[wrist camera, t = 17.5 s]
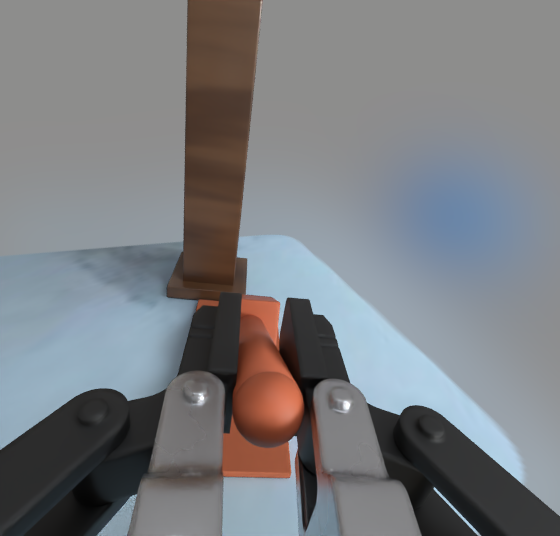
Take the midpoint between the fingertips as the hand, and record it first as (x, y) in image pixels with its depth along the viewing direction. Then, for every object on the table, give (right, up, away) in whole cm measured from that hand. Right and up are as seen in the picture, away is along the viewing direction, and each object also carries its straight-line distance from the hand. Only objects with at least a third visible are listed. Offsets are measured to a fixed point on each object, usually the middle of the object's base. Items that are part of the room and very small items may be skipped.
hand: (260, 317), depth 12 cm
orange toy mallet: (-1, -2, +3) cm, 4 cm away
